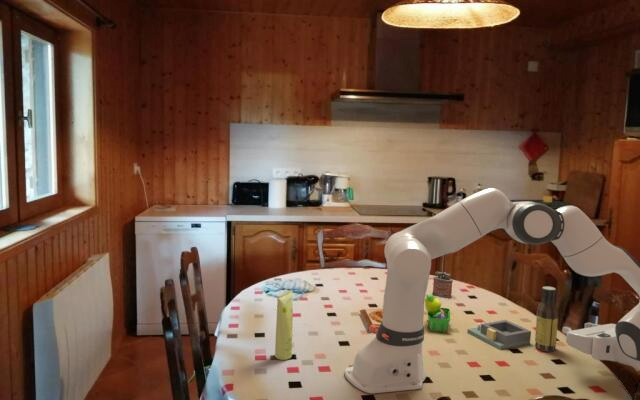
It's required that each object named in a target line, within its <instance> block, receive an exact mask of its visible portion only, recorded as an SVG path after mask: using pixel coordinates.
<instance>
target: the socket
mask: <svg viewBox="0 0 640 400" xmlns="http://www.w3.org/2000/svg"><path fill="white" fill-rule="evenodd" d="M489 322H490V323H487V322H484V324H482V323H480V324H481V326H480V327H481V332H480V333H482V334H484V335H486V338H488V339H490V340H492V341H495V340H496V341H498V342H500V343H502V344H504V345H508V344H513V343H518V342H523V341H528V340H530V341H531V338H532V337H531V335H532V330H529V329H527V328H525V327H522V326H520V325H519V324H516V323H514V322H511V321H509V320H507V319H502V320H497V321H494V322H491V321H489ZM504 330H505V331H508V332H510V333H504V332H502V331H504Z"/></svg>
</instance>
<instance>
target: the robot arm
mask: <svg viewBox="0 0 640 400" xmlns="http://www.w3.org/2000/svg"><path fill="white" fill-rule="evenodd" d="M499 229H500V230H501V231H502V232H503V233H504V234H505V235H506V236H507V237H509V238H511V239H512V240H515V241H517V242H519V243H521V244H526V245H532V246H533V245H535V246H537V245H538V246H539V245H542V244H546V243H549V242H551V243H552V244H553V245H554V246H555V247H556V248H557V250H558V252H559V253H560V255H561V256H562V258H563V260H564V261H565V262H566V264H567V265H568V266H569V267H570V268H571V270H572V271H574V273H576V274H578V275H581V276H584V277H599V276H606V275H607V274H608V275H609V274H613V273H615V274H618V275H619V276H620V277H622V278H623V279H624V280H625V282H626V283H627V284H628V285H629V286H630V287H631V288H632V289H633V290H634V291H635V292H636V294H637V295H638V296H639V297H640V262H639V261H638V260H637V259H636V258H635V257H634V256H633V255H632V254H631V253H630V252H629V251H628V250H626V249H625V248H623V247H622V246H618V245H613V244H612V243H611V242H609V240H607V239H606V238H605V236H604V235H603V234H602V232H601V231H600V229H599V228H598V227H597V226H596V224H595V223H594V222H593V221H592V220H591V219H590V217H589V216H588V215H586V213H585V212H584V211H583V210H581V209H580V208H579V207H577V206H575V205H564V206H560V207H558V208H557V209H555V208H553V207H550V206H548V205H546V204H544V203H541V202H536V201H531V200H526V201H524V200H523V201H511V200H509V198H508V197H507V195H506V194H505V193H504V192H503V191H501V190H500V189H498V188H494V187H489V188H485V189H483V190H479V191H477V192H475V193H473V194H470V195H469V196H467V197H465V198H463V199H461V200H459V201H458V202H456V203H454V204H452V205H450V206H449V207H448V208H446V209H444V210H443V211H440V212H439V213H437V214H435V215H433V216H431V217H428V218H427V219H425V220H422V221H420V222H418V223H415V224H413V225H410V226H408V227H406V228H404V229H402V230H400V231H397V232H395V233H393V234H391V236H390V237H389V238H388V239H387V240H386V243H385V245H384V249H383V250H384V251H383V253H384V257H385V260H386V268H387V269H386V270H387V272H386V281H385V287H384V293H383V303H382V304H383V305H382V321H381V323H380V325H379V327H378V326H376V325H375V324H371V325H370V326H369V328H368V330H369V331H370V332H371V333H372V334H375V337H374V338H373V339H372V340H370V341H369V342H368V343H366V345H365V346H363V347H361V349H359V350H358V351H357V352H356V354H355V357H354V361H353V365H352V366H349V367H346V368H345V369H344V375H345V377H346V380H347V381H348V382H350V384H351V385H353V386H354V387H356V389H358V390H360V391H362V392H364V393H367V394H381V393H382V394H383V393H389V392H391V393H392V392H401V391H403V392H404V391H412V390H420V389H422V388H423V382H425V380H426V378H427V374H426V371H425V365H424V358H423V357H424V355H423V342H424V339H425V325H424V316H425V298H426V295H427V290H428V285H429V279H430V272H431V269H432V260H434V259H437V258H439V257H442V256H445V255H448V254H449V255H450V254H453V253H456V252H458V251H460V250H462V249H463V248H465V247H467V246H469V245H470V244H472V243H473V242H475V241H478V240H479V239H481V238H483V237H484V236H486V235H487V234H489V233H490V232H492V231H495V230H499ZM583 326H584V328H579V329H573V330H572V327H570V326H562V330H561V331H562V333H563V334H566V337H565V342H566V344H567V345H568V346H569V347H571V348H573V349H574V350H575V349H576V351H580V352H582V353H584V354H587V355H591V358H592V359H593V360H596V361H597V360H598V361H610V362H614V363H615V362H617V363H620V364H622V365H626V366H630V367H632V368H634V369H635V370H636V371H637V372H640V300H639V302H638V304H636V306H634V307H633V308H632V309H631V310H630V311H628V312H627V313H626V314H625V315H624V316H623V317H621V318H620V320H618V322H617V323H607V324H595V323H592V322H585V323H584V325H583Z"/></svg>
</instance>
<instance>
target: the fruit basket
mask: <svg viewBox="0 0 640 400" xmlns="http://www.w3.org/2000/svg"><path fill="white" fill-rule="evenodd" d="M424 308H425V310H426V311H427V319H428V323H429V329H430V331H435V332H444V333H446V332H447V329H448V325H449V323H450V321H451V319H452V318H451V309H450V308H447V307H442V303H441V301H440V300H439V299H438V298H436V296H434V295H432V294H426V295H425V302H424Z"/></svg>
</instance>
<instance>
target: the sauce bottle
mask: <svg viewBox="0 0 640 400" xmlns="http://www.w3.org/2000/svg"><path fill="white" fill-rule="evenodd" d="M556 293H557V289H556V288H555V287H553V286H549V285H548V286H542V288H541V295H542V296H541V302H540V303H539V304H538V306H537V310H536V321H535V334H534V335H535V337H534V341H535V343H534V345H535V348H536V349H538V350H540V351H542V352H549V353H550V352H554V351H555V350H556V346H557V338H558V337H557V336H558V335H557V334H558V323H559V317H558V315H559V310H558V307H557V305H556Z"/></svg>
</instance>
